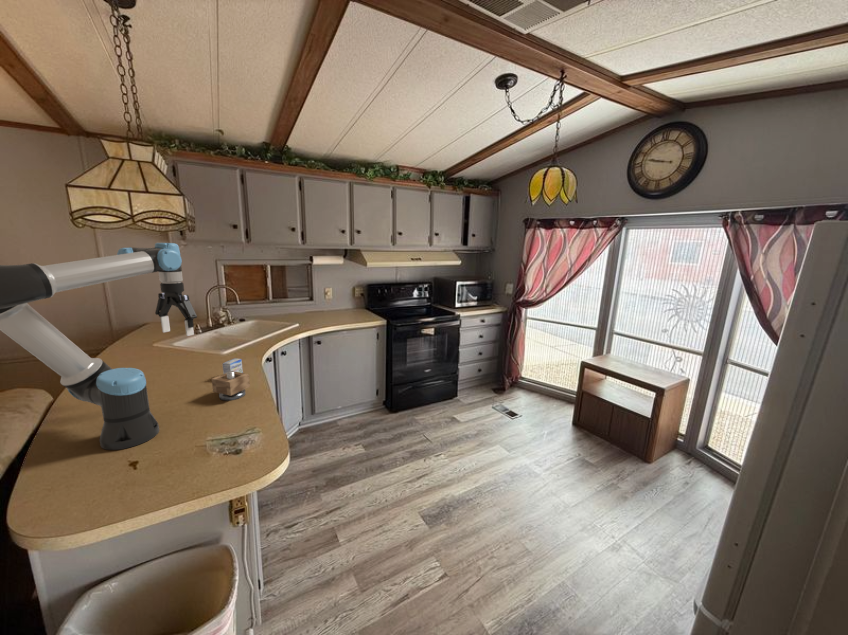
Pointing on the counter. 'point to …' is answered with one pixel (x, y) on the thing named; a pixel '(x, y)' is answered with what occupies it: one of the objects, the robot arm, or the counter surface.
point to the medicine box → (233, 366)
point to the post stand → (236, 396)
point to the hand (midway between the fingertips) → (178, 333)
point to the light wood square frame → (230, 383)
